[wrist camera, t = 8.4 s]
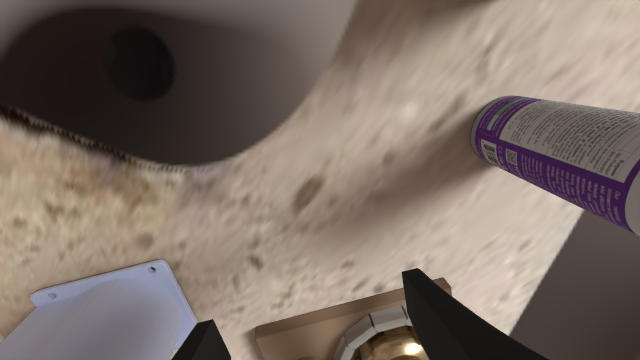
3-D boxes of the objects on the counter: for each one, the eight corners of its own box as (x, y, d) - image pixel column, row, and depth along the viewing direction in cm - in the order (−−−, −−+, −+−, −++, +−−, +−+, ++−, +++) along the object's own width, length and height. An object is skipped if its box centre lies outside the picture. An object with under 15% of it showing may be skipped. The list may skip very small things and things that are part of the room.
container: (527, 159, 22) (957, 328, 8) (466, 165, 21) (803, 355, 8) (541, 92, 20) (1121, 159, 6) (474, 98, 20) (932, 183, 6)
